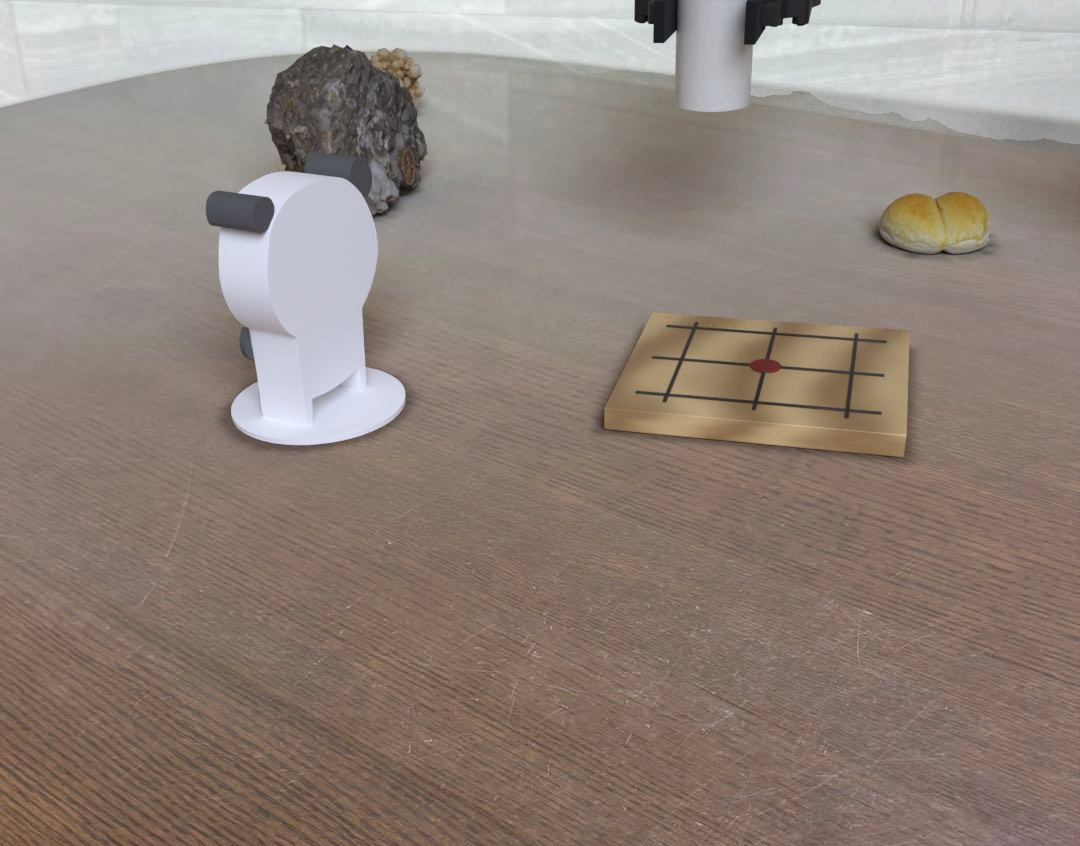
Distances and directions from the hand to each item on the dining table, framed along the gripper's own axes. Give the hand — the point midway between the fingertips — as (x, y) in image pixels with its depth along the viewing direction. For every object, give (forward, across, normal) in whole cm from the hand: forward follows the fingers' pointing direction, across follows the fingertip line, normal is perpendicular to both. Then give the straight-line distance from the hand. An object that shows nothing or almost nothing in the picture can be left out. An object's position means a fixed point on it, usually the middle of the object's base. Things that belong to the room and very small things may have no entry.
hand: (704, 22), depth 82 cm
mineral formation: (-51, +49, -20) cm, 74 cm away
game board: (+15, -7, -20) cm, 26 cm away
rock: (-20, +37, -20) cm, 47 cm away
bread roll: (-17, -18, -20) cm, 32 cm away
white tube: (-5, 0, -6) cm, 8 cm away
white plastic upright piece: (+23, +21, -20) cm, 37 cm away
